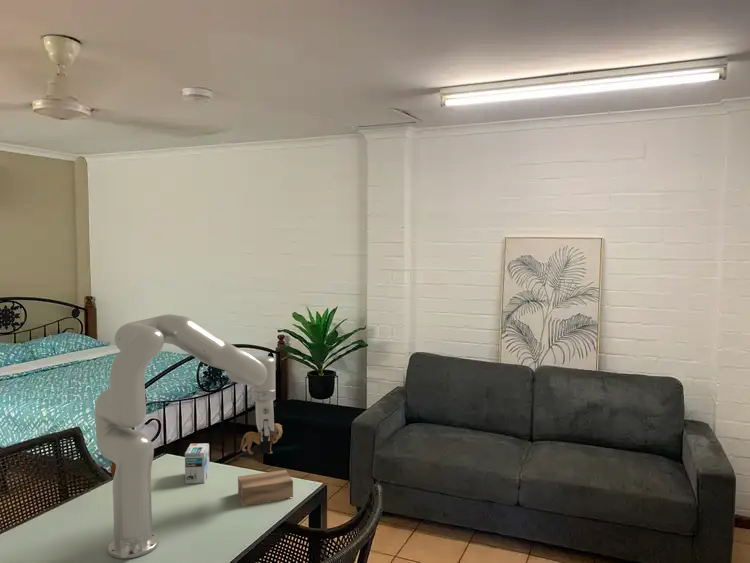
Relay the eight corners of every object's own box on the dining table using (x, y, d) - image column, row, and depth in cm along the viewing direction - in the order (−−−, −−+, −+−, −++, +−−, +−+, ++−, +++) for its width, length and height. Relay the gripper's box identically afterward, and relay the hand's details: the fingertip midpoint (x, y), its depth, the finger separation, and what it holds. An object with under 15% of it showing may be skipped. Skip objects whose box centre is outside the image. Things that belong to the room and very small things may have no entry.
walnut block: (293, 498, 190) (292, 480, 190) (243, 506, 185) (242, 488, 184) (286, 487, 200) (285, 469, 199) (238, 494, 194) (237, 476, 193)
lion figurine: (281, 447, 195) (281, 421, 195) (283, 453, 190) (283, 425, 190) (236, 451, 192) (236, 423, 192) (236, 456, 187) (236, 428, 186)
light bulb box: (204, 483, 202) (204, 452, 201) (184, 484, 201) (184, 453, 201) (209, 471, 213) (209, 442, 212) (190, 472, 212) (190, 443, 211)
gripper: (279, 400, 183) (279, 458, 184) (272, 388, 199) (272, 441, 200) (254, 402, 181) (255, 460, 182) (249, 389, 197) (249, 443, 198)
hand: (264, 449), depth 191 cm, fingers closed on lion figurine, 4 cm apart
